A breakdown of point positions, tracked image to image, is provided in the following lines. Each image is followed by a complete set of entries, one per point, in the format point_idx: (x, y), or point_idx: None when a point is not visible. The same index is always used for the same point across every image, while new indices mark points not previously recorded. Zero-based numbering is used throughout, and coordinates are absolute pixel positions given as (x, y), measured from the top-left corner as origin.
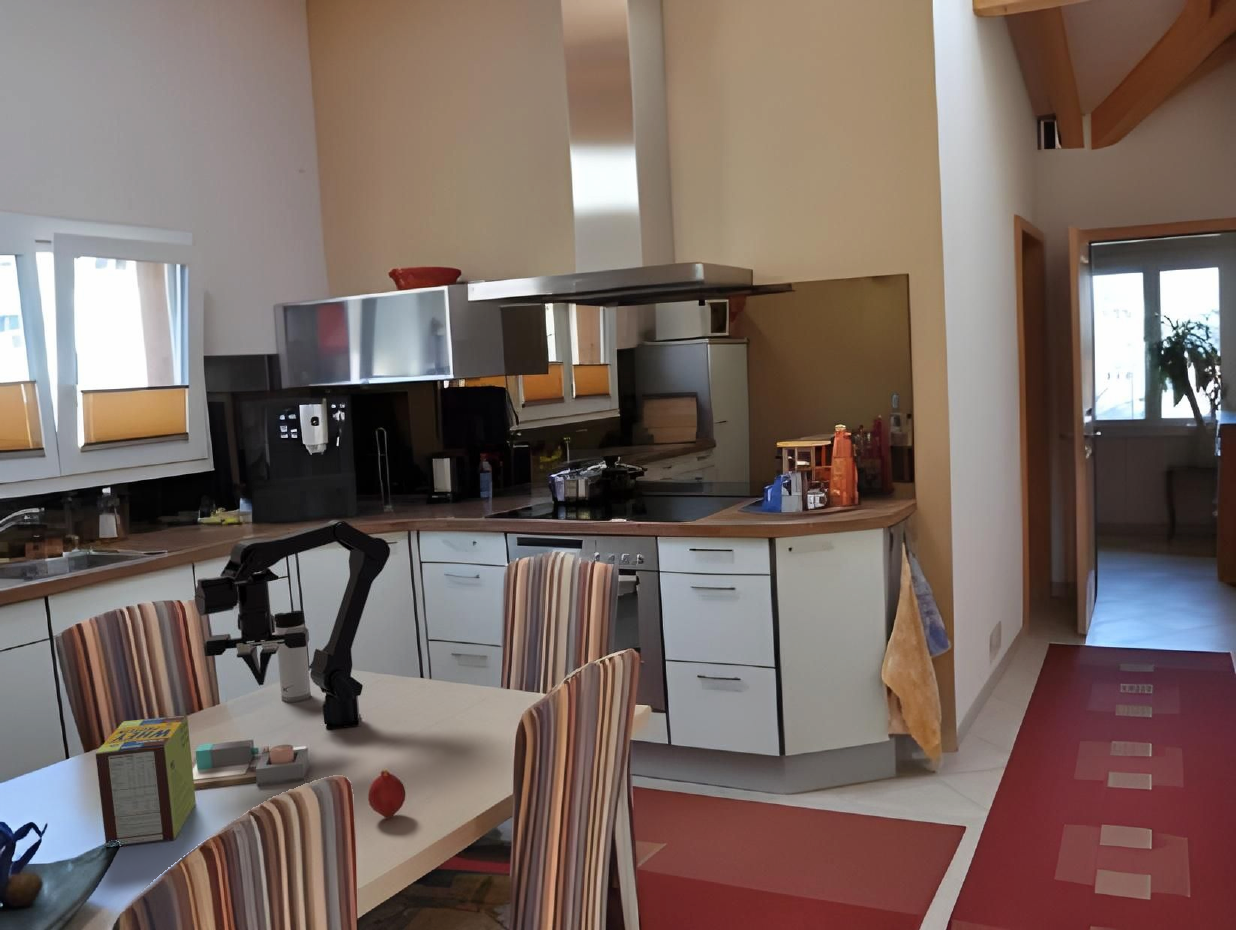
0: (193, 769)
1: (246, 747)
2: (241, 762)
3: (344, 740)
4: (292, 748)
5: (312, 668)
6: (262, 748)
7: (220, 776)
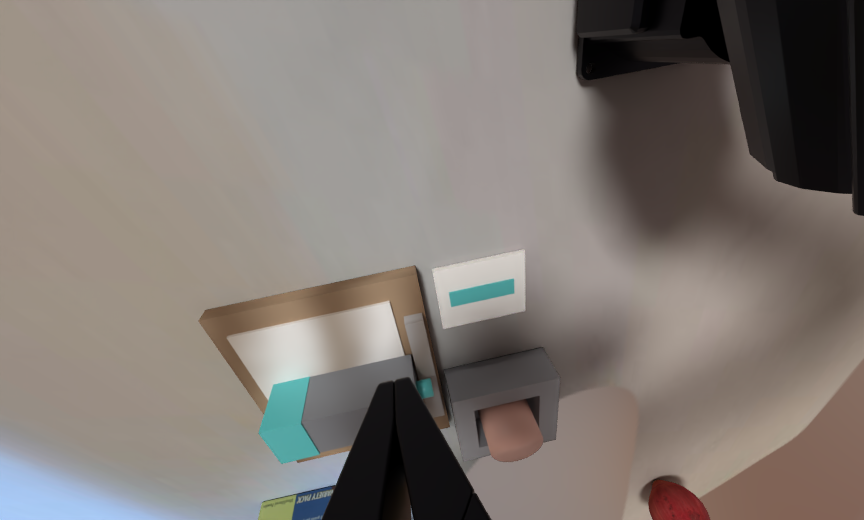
0: None
1: None
2: None
3: (630, 200)
4: (542, 441)
5: (861, 16)
6: (419, 329)
7: None
